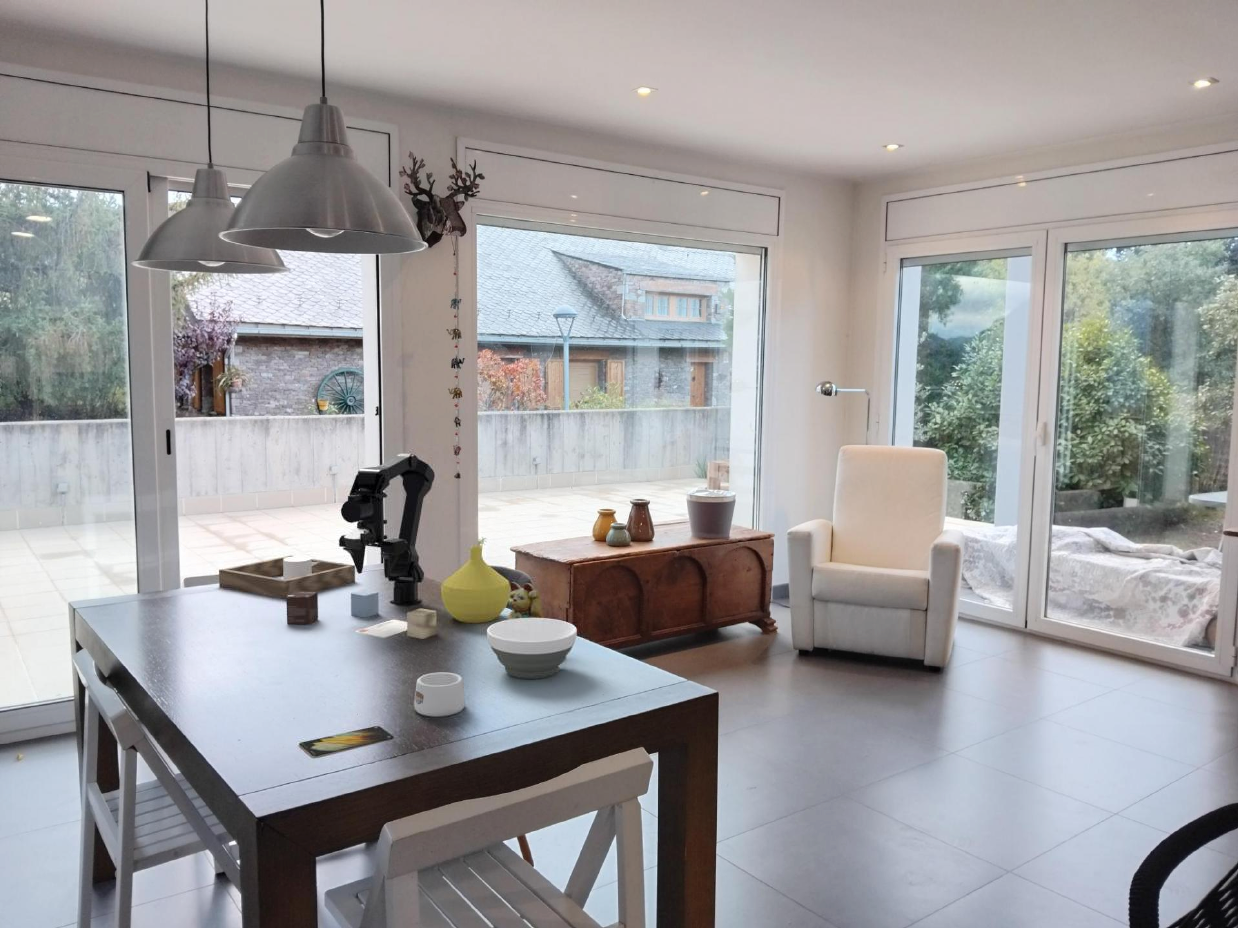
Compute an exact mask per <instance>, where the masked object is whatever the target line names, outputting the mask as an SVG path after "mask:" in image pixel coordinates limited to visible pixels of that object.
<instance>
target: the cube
mask: <svg viewBox="0 0 1238 928" xmlns="http://www.w3.org/2000/svg"><path fill="white" fill-rule="evenodd" d="M379 608H380V607H379V591H372V590H368V589H363V590H358V591H356V592H351V593H350V615H351V616H354V617H361V618H368V617H371V616H375V615H378V614H379V612H380V611H379Z"/></svg>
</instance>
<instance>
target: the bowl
mask: <svg viewBox="0 0 1238 928" xmlns="http://www.w3.org/2000/svg"><path fill="white" fill-rule="evenodd" d="M577 635H578V629H577V627H576V626H575V625H574V624H572V623H570V622H568V621H564V620H560V619H555V618H554V619H553V618H547V617H546V618H545V617H542V618H519V619H510V620H507V619H506V620H501V621H497V622H495V623H493V624H491V625H489V626H488V628H487V629H486V638H487V641H488V645H489V646H490V648H491V650H492V652H494V654H495V655H496V657H497V660H498V661H499V663H500V664H501V665H502V666H504V670H505V672H506V674H508V675H509V676H512V677H514V678H517V679H521V680H522V679H523V680H539V679H545V678H549V677H551V676H553V675H554V674H556V673H557V672H558V670H559V667H560V665H562V664H563V662H565V660H566V658H567V656H568V654H569V653H570V652H571V650H572V648H573V647H574V645H575V643H576V639H577Z"/></svg>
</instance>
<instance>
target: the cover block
mask: <svg viewBox="0 0 1238 928" xmlns="http://www.w3.org/2000/svg"><path fill="white" fill-rule="evenodd" d="M406 622H407V630H406V631H407V632H406V635H407V637H410V638H411V637H412V638H417V639H421V640H424V639H426V638H429V637H432V636H435V635H437V610H431V609H426V608H417V609H414V610H412V611H408V612H406Z"/></svg>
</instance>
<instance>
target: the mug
mask: <svg viewBox="0 0 1238 928" xmlns="http://www.w3.org/2000/svg"><path fill="white" fill-rule="evenodd" d="M415 686H416V687H415V694H414V702H413V705H414V710H415V711H416V712H417V713H418V714H419V715H421V716H426V717H432V718H433V717H434V718H435V717H438V718H441V717H448V716H452V715H455V714H458V713H460V712H461V711H463V710H464V708H465V707H466V705H465V704H466V698H465V690H464V682H463V678H462V676H460V674H457V673H454V672H453V673H452V672H441V671H440V672H430V673H427V674H423V675H422V676H420V677H418V678H417V680H416V684H415Z"/></svg>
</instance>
